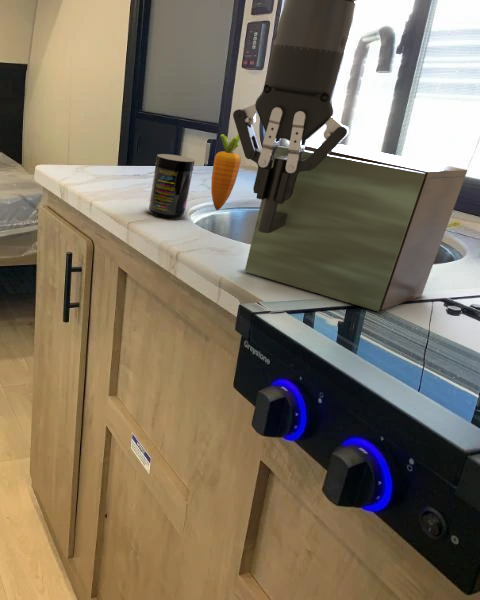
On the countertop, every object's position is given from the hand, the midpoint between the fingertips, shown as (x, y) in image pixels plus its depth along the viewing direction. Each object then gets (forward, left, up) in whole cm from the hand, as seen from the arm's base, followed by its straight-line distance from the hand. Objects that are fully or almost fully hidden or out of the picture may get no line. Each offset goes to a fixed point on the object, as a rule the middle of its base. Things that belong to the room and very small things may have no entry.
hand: (270, 199), depth 72 cm
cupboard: (-3, -18, -12) cm, 22 cm away
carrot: (+32, -33, -12) cm, 47 cm away
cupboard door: (-4, -5, -12) cm, 14 cm away
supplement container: (+32, -18, -12) cm, 38 cm away
